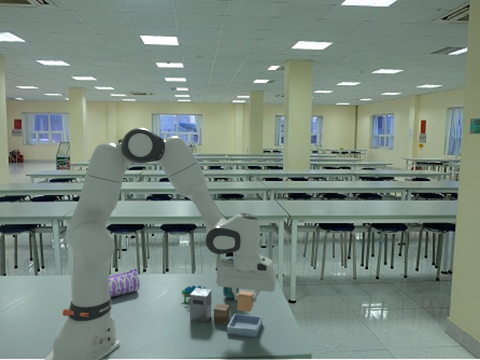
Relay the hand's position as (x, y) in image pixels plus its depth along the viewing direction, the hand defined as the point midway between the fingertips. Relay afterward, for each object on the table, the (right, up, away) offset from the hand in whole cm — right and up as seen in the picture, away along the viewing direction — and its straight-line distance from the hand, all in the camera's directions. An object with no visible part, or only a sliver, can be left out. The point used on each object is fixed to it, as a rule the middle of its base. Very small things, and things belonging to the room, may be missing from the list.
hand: (245, 300), depth 135 cm
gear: (-20, -7, +23) cm, 31 cm away
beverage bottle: (-6, -7, +26) cm, 27 cm away
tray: (0, -10, +1) cm, 10 cm away
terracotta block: (0, -3, 0) cm, 3 cm away
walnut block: (-9, -9, +7) cm, 15 cm away
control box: (-16, -9, +8) cm, 20 cm away
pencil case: (-54, -6, +27) cm, 60 cm away
